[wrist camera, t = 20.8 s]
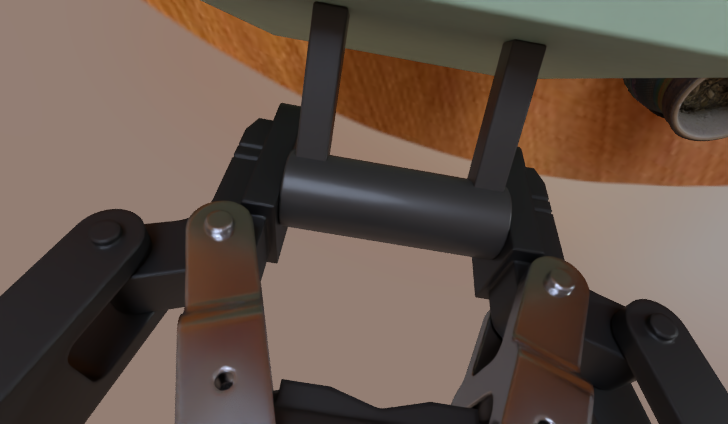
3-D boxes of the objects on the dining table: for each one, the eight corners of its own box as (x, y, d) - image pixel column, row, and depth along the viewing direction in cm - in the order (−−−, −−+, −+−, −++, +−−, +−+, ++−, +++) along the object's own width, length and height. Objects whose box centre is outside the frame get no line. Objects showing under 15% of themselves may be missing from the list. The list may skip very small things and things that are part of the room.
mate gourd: (606, -1, 25) (672, 86, 18) (761, -57, 22) (904, 23, 15) (608, 94, 30) (660, 189, 23) (735, 58, 27) (836, 155, 20)
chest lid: (36, -140, 5) (64, 232, 7) (855, 23, 6) (693, 333, 8) (274, 17, 19) (263, 132, 21) (516, 62, 20) (486, 171, 21)
